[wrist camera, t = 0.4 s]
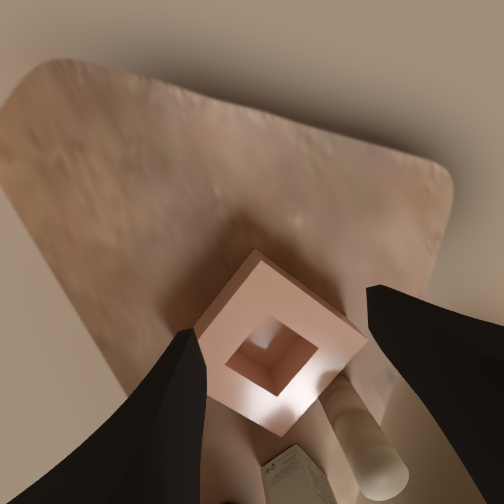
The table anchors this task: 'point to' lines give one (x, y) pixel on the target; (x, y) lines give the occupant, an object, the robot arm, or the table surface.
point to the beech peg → (363, 442)
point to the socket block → (272, 344)
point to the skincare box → (295, 480)
